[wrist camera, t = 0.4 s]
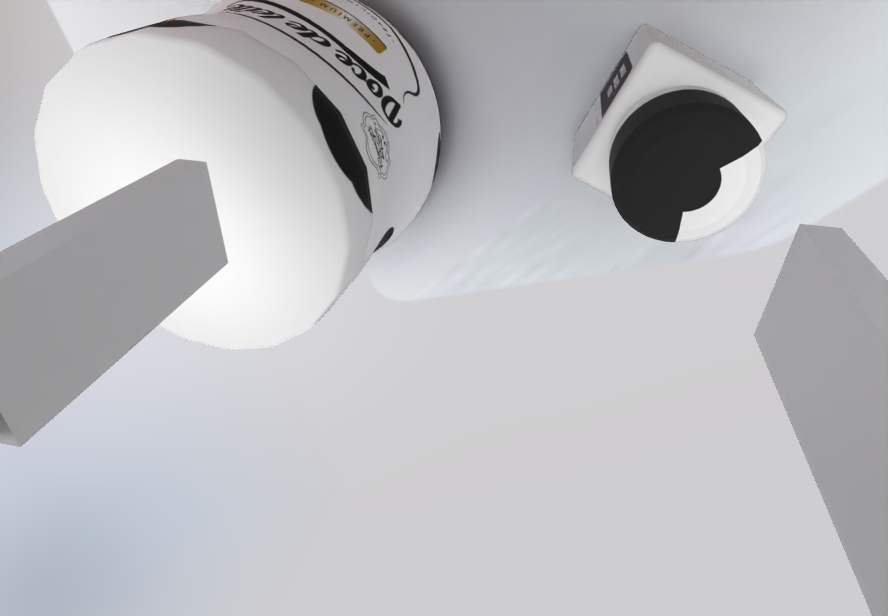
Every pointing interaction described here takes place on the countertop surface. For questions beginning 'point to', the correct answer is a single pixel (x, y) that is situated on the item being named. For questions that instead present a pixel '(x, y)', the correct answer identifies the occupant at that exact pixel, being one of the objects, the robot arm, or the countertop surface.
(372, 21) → the milk container
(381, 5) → the countertop surface
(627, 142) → the container
